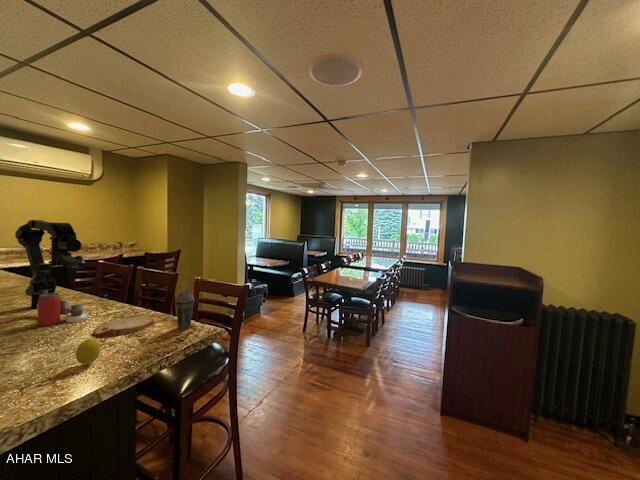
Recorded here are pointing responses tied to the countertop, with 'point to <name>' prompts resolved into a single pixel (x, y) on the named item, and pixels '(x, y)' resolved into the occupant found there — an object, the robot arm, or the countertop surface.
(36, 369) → the countertop surface
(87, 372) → the countertop surface
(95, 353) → the lemon
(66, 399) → the countertop surface
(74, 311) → the lever
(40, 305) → the beer can
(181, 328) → the beverage cup
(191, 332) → the countertop surface
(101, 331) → the slice of bread
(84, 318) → the lever base
